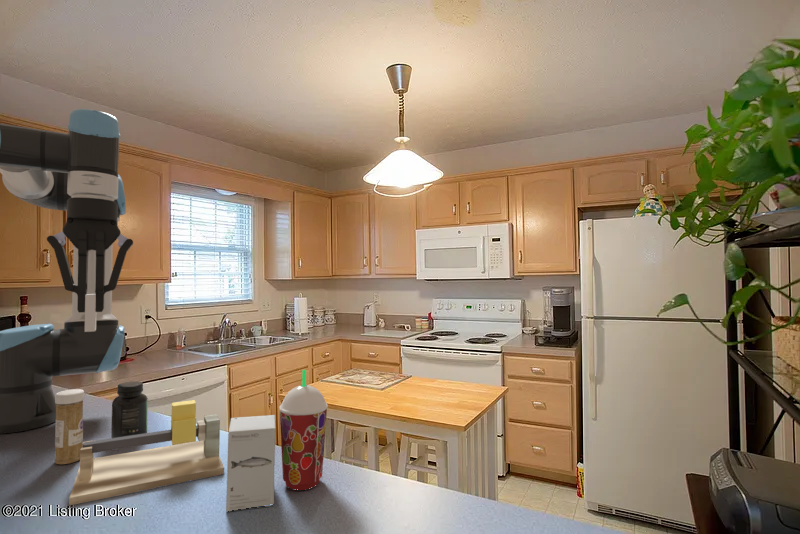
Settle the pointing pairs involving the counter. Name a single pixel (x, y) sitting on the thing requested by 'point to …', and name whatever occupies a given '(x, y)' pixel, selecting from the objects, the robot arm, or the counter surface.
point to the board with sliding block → (149, 466)
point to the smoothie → (303, 435)
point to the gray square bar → (130, 441)
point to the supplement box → (250, 462)
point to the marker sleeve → (183, 422)
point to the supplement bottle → (129, 410)
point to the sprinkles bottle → (68, 425)
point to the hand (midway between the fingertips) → (90, 330)
